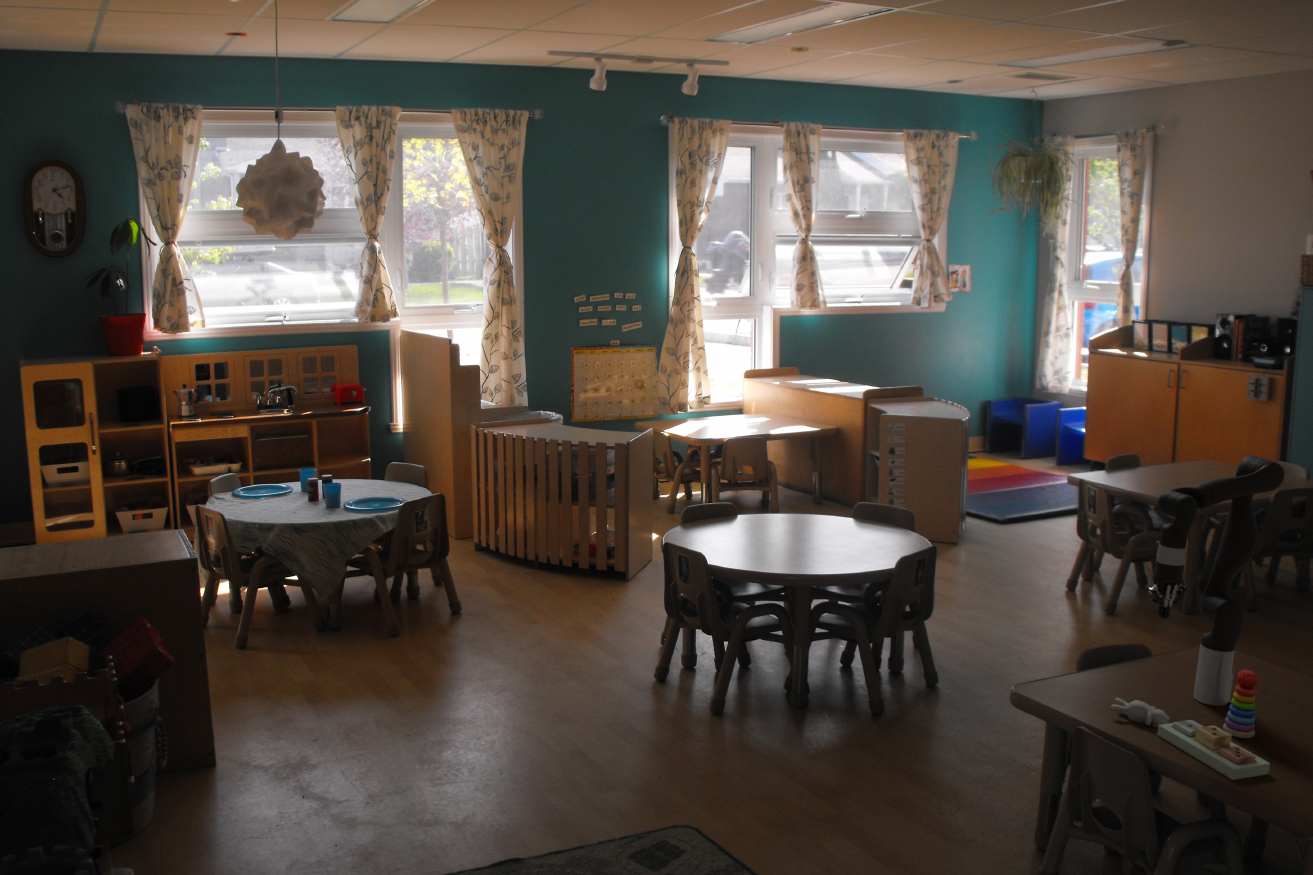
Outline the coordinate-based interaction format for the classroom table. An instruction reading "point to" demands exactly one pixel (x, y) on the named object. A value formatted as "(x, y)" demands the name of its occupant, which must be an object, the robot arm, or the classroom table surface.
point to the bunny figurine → (1141, 712)
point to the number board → (1213, 755)
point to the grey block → (1186, 727)
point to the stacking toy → (1242, 707)
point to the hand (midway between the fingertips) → (1163, 617)
